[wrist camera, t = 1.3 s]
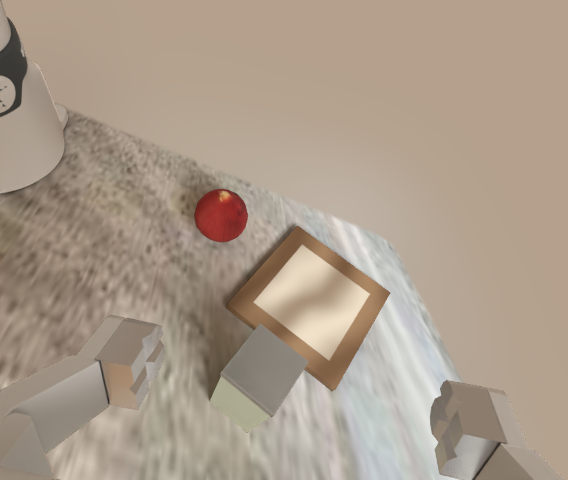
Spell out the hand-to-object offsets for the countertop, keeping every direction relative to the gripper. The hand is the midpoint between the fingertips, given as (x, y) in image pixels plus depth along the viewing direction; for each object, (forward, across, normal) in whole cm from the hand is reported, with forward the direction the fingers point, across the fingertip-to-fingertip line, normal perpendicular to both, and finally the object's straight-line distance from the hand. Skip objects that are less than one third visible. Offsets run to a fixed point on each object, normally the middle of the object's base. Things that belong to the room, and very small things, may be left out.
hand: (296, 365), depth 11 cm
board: (+27, -1, +20) cm, 34 cm away
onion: (+31, +12, +16) cm, 36 cm away
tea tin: (+15, +4, +24) cm, 29 cm away
